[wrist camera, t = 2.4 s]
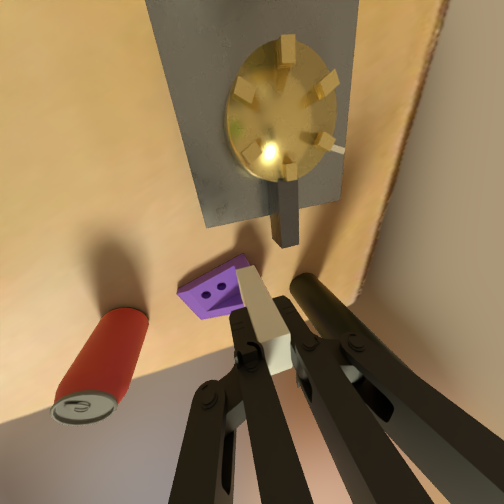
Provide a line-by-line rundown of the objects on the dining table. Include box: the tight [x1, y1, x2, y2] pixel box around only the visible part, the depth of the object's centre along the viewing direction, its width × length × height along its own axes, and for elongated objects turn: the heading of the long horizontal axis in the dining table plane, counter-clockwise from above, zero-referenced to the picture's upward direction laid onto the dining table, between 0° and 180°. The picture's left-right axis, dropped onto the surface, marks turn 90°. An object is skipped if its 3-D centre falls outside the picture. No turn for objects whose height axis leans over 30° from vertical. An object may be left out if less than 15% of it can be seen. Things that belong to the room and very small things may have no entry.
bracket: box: [177, 253, 251, 320], centre depth 28 cm, size 12×7×7 cm, turn 115°
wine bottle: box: [290, 273, 415, 374], centre depth 22 cm, size 6×6×30 cm
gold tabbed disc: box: [224, 34, 340, 249], centre depth 20 cm, size 19×11×5 cm, turn 8°
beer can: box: [50, 308, 149, 426], centre depth 24 cm, size 7×7×12 cm
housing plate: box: [145, 0, 359, 228], centre depth 21 cm, size 20×20×2 cm
